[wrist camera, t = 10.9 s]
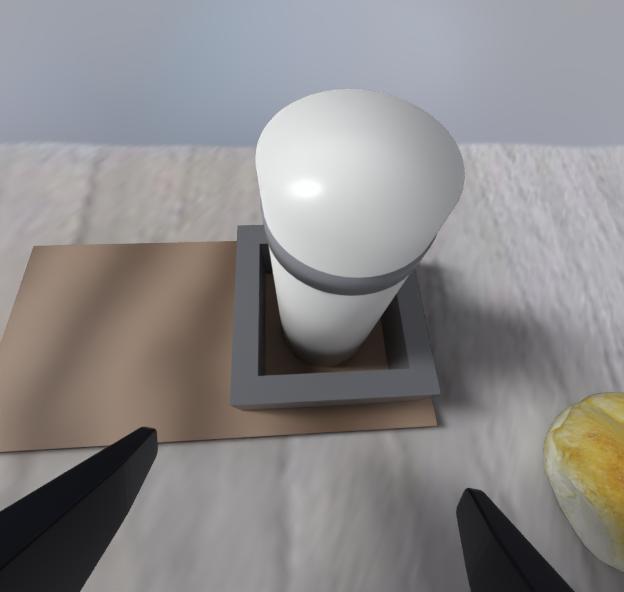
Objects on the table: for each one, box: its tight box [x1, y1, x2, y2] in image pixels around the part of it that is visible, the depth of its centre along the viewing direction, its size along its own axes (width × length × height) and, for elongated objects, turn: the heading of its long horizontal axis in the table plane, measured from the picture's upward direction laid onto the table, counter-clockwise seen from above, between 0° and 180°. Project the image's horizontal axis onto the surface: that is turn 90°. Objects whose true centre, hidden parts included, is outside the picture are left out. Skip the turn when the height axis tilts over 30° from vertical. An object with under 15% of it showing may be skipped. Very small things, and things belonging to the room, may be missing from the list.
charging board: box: [0, 241, 437, 452], centre depth 19 cm, size 24×12×1 cm, turn 93°
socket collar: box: [230, 225, 441, 411], centre depth 17 cm, size 9×9×4 cm
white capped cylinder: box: [256, 89, 465, 367], centre depth 13 cm, size 5×5×12 cm
